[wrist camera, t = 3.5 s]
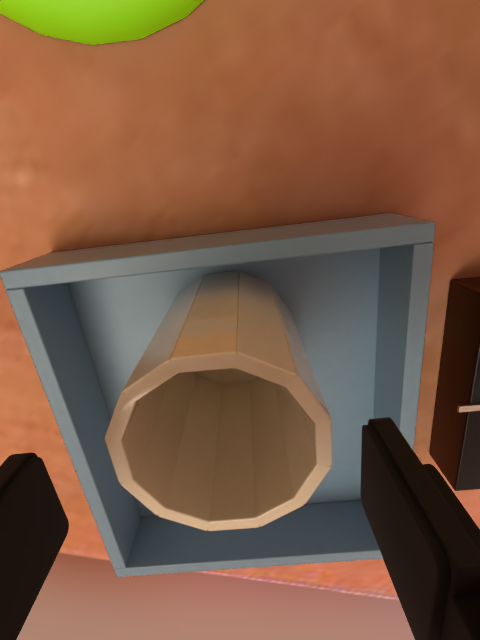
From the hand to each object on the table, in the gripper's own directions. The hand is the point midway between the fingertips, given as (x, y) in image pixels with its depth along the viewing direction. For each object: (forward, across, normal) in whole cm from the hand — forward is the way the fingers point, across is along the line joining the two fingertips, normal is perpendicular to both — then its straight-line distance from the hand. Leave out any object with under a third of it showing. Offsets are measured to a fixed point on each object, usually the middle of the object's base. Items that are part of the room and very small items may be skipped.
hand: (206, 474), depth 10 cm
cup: (+10, -1, 0) cm, 10 cm away
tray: (+10, -1, +4) cm, 11 cm away
